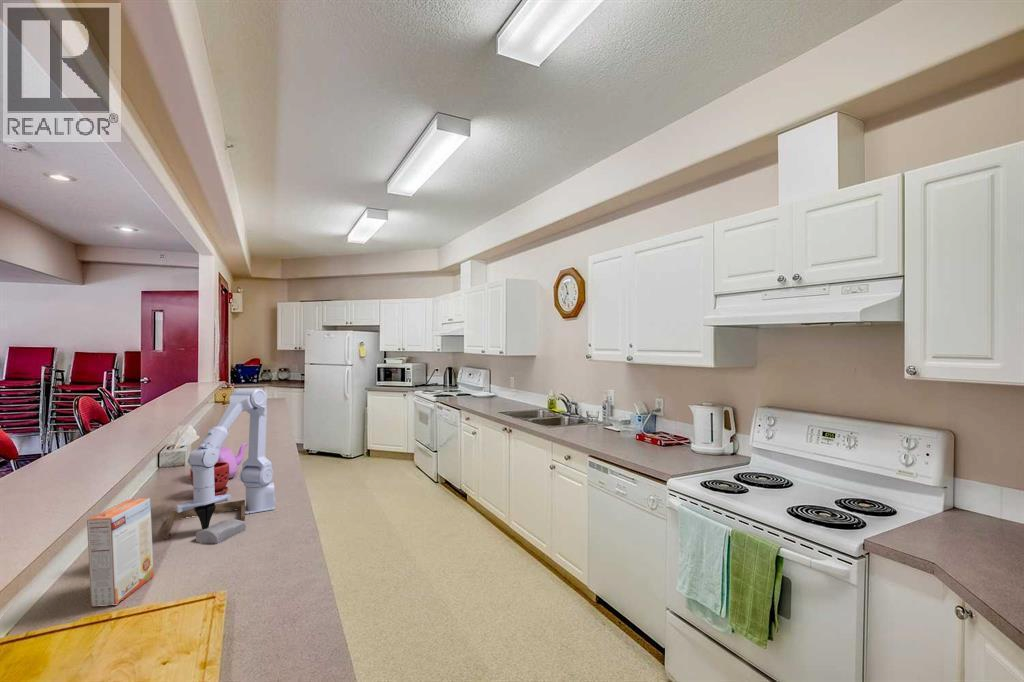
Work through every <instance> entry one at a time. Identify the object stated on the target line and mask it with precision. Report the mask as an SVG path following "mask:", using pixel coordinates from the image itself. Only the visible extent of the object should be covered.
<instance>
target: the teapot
mask: <svg viewBox="0 0 1024 682" xmlns="http://www.w3.org/2000/svg"><path fill="white" fill-rule="evenodd" d="M247 446H249V441H248V442H245V443H242V444H241V445H240V447H239V451H238V454H237V455H236V456H235V454H234V453H233V450H232V449H231V448H230V447H228V446H222V447H221V448H220V453H219V459H218V461H217V462H228V463H229V478H230V479H231V478H234V477H235V476H236V474H237V472H238V467H239V465H241V463H242V462H243V460H244V456H245V449H246V447H247Z"/></svg>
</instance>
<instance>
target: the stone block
mask: <svg viewBox="0 0 1024 682" xmlns="http://www.w3.org/2000/svg"><path fill="white" fill-rule="evenodd" d="M246 527H247V523H246V520H245V521H241V519H240V520H239V519H234V518H233V519H232V518H231V519H226V520H221V521H218V522H217V523H214V524H212V525H209V528H207V529H204V530H203V529H202V530H199V531H197V532H196V534H195V541H196V543H199V542H200V543H199V544H210V543H211V544H213V543H214V544H215V545H219V544H221V543H223V542H226V541H227V540H229V539H231V538H233V537H234V535H235V536H236V534H237V533H239V534H241V533H242V532H241V531H243V530H244V531H245V530H246ZM240 532H241V533H240ZM237 535H238V534H237ZM232 536H233V537H232ZM230 537H231V538H230ZM228 538H229V539H228ZM220 542H221V543H220ZM218 543H219V544H218Z"/></svg>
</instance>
